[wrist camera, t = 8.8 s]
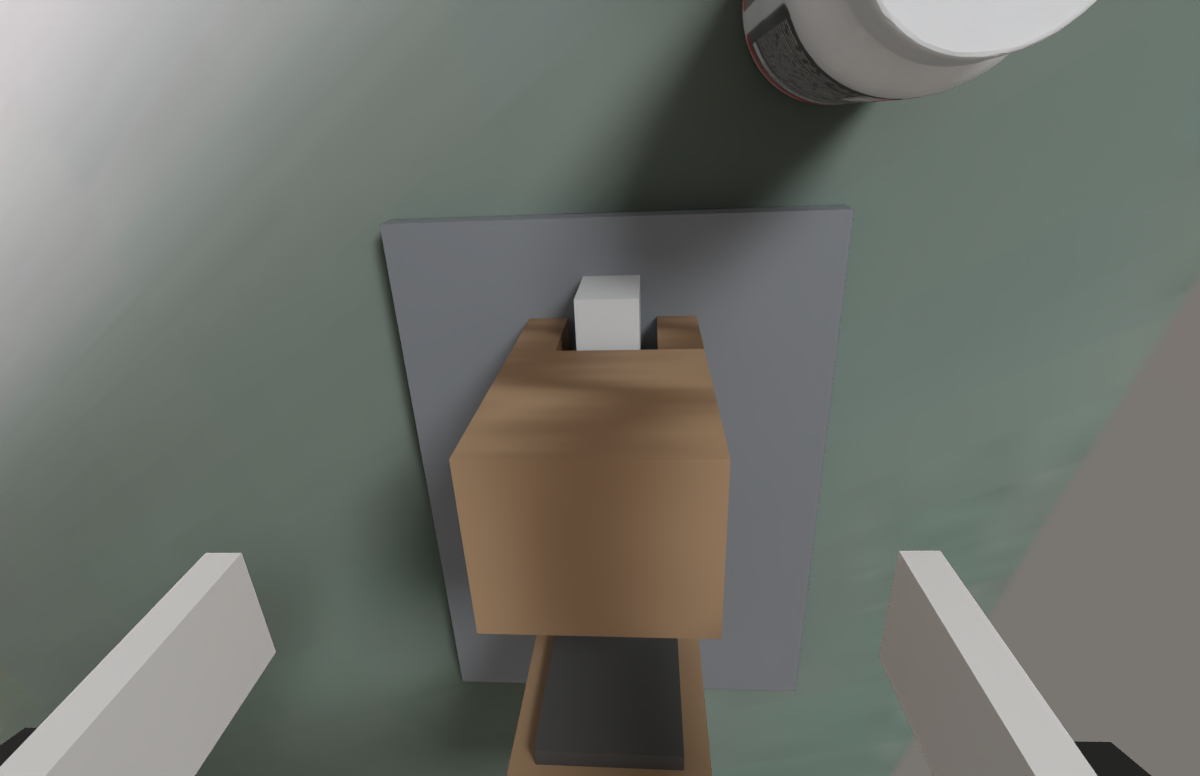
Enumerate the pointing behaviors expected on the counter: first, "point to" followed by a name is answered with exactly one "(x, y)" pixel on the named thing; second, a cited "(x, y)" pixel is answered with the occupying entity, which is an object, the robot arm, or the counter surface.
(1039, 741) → the robot arm
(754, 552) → the rail
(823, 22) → the pill bottle
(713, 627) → the notched tan block
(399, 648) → the counter surface
